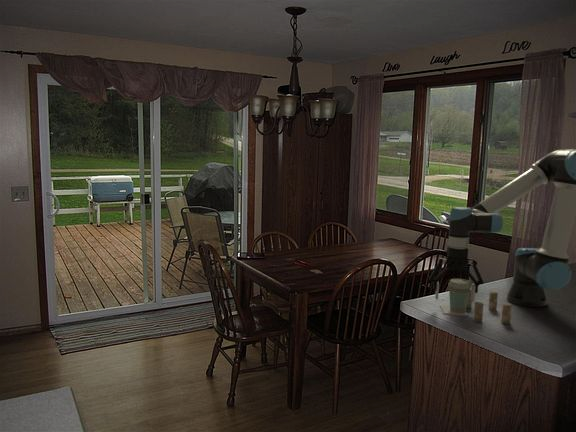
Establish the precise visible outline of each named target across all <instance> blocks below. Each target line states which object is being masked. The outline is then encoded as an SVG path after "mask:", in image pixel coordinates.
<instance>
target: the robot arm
mask: <svg viewBox="0 0 576 432" xmlns="http://www.w3.org/2000/svg"><path fill="white" fill-rule="evenodd" d="M551 182H552V183H553V184H554V186H555V190H554V194H553V199H552V203H551V206H550V211H549V214H548V219H547V222H546V227H545V231H544V234H543V239H542V243H541V246H540V247H539V248H537V247H536V248H535V247H518V248H517V249H516V250H515V255H514V263H513V264H514V265H513V266H514V268H513V279H512V283H511V286H510V287H509V290H508V291H507V295H506V296H507V297H506V299H507V301H508V302H510V303H511V304H514V305H519V306H521V307H528V308H542V307H546V306H547V304H548V298H547V294H546V291H545V289H546V290H549V291H550V290H551V291H556V290H561V289H562V288H564V287H565V286H567V285H568V284H569V282H570V280H571V278H572V270H571V268H570V266H569V265H568V264H569V261H570V257H569V255H568V253H567V249H568V245H569V242H570V238H571V234H572V229H573V226H574V222H575V218H576V149H575V148H574V149H573V148H571V149H570V148H569V149H568V148H567V149H566V148H564V149H563V148H561V149H557V150H554V151H552V152H549V153H548V154H545V156H543V157H541V158H540V159H538V160H537V161H536V162H534V163H532V164H531V165H530V166H529V169H528V170H527V171H525V172H523V173H522V174H520V175H519V176H517V177H516V178H514V179H513V180H511V181H510V182H508V183H507V184H505V185H504V186H502V187H501V188H499V189H497V190H496V191H494V193H492V194H490V195H489V196H487V197H486V198H484V199H482V200H481V201H480V202H478V203H477V204H475V205H473V206H471V207H470V206H469V207H465V206H464V207H463V206H455V207H454V206H453V207H452V208H451V209H450V214H449V226H448V227H449V229H448V243H447V245H448V247H447V256H446V258H442V257H439V258H438V260H437V264H436V265H435V267H434V268H433V270H432V272H430V273H431V274H430V275H429V277H428V279H429V282H433V283H432V289H433V291H434V292H435V294H434V295H435V297H434V299H435V300H439V290H440V289H439V288H440V282H439V281H440V280H441V279H443V277H444V276H445V275H446V274H448V273H449V272H450V271H452V272H453V271H454V272H455V271H457V272H462V271H464V272H465V273H466V275H467V276H468V277H469V279H470V280H471V281H472V282H473V283H471V288H470V290H471V301H472V303H475V299H476V298H475V296H476V294H478V291H479V286H480V285H483V284H484V280H483V278H482V275H481V273H480V272H479V270H478V266H477V261H476V259H474V258H473V259H470V260H469V259H468V258H469V257H468V256H469V248H468V247H470V246H469V243H470V233H490V234H493V233H494V234H495V233H500V232H501V231H502V229H503V227H504V219H503V217H502V215H501V214H500V213H499V212H501V211H502V210H505V208H508V207H509V206H510V205H512V204H514V203H515V202H516V201H518V200H519V199H521V198H522V197H525V195H527V194H529V193H531V192H532V191H533V190H535V189H536V188H538V187H540V186H541V185H547V184H549V183H551ZM445 263H446V266H445V267H444V268H443V269H442V270H441V271H440V272H439V270H440V269H441V267H442V266H443V265H444V264H445ZM469 264H470V266H471V268H472V270H473V271H474V273H475V275H476V278H477V279H476V278H475V277H474V276H473V275H472V273H471V272H470V271H469V270H468V268H467V266H468V265H469Z"/></svg>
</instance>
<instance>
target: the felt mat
mask: <svg viewBox="0 0 576 432" xmlns="http://www.w3.org/2000/svg"><path fill="white" fill-rule="evenodd" d="M439 307H440V310H441V311H442V313H443V315H448V314H450V316H451V315H453V316H464V317H465V316H466V317H468V316H469V314H468V313H467V311H466V312H464V313H456V312H453V311H451V310H450V305H448V306H447V305H439Z"/></svg>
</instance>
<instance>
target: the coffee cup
mask: <svg viewBox="0 0 576 432" xmlns="http://www.w3.org/2000/svg"><path fill="white" fill-rule="evenodd" d="M447 284H448V289H449V306H450V310H451V311H453V312H456V313H464V312H466V313H467V309H468V308H467V303H468V298H469V293H470V290H471V289H472V283H471V281H470V280H468V279H464V278H451V279H449V282H448V283H447Z"/></svg>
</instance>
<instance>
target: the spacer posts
mask: <svg viewBox="0 0 576 432" xmlns="http://www.w3.org/2000/svg"><path fill="white" fill-rule="evenodd" d="M498 298H499V293H498V291H489V299H488V310H489V311H492V310H496V311H497V309H498ZM472 303H473V302H472V301H471V289H470V293H469V298H468V303H467V308H466V309H472ZM501 309H502V310H501V311H502V312H501V322H502V323H501V324H503V325H511V319H512V303H511V304H510V303H503V304H502V308H501ZM473 310H474V311H473V313H474V314H473V322H474V323H478V324H482V323H483V317H484V316H483V315H484V303H483V302H479V301H474V309H473Z"/></svg>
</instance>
